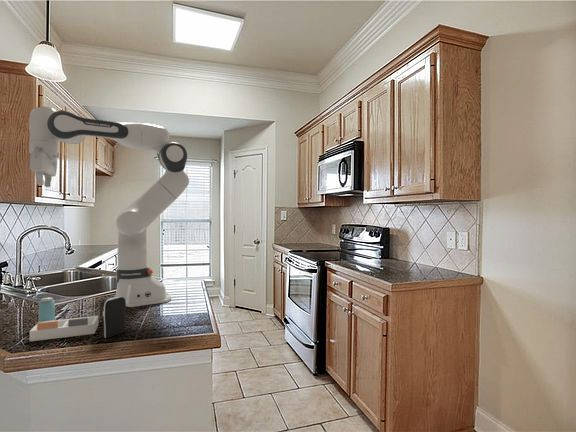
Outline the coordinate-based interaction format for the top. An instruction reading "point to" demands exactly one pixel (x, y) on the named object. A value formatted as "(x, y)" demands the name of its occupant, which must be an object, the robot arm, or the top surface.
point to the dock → (64, 328)
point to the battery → (113, 316)
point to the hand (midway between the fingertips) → (44, 186)
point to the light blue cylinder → (47, 309)
